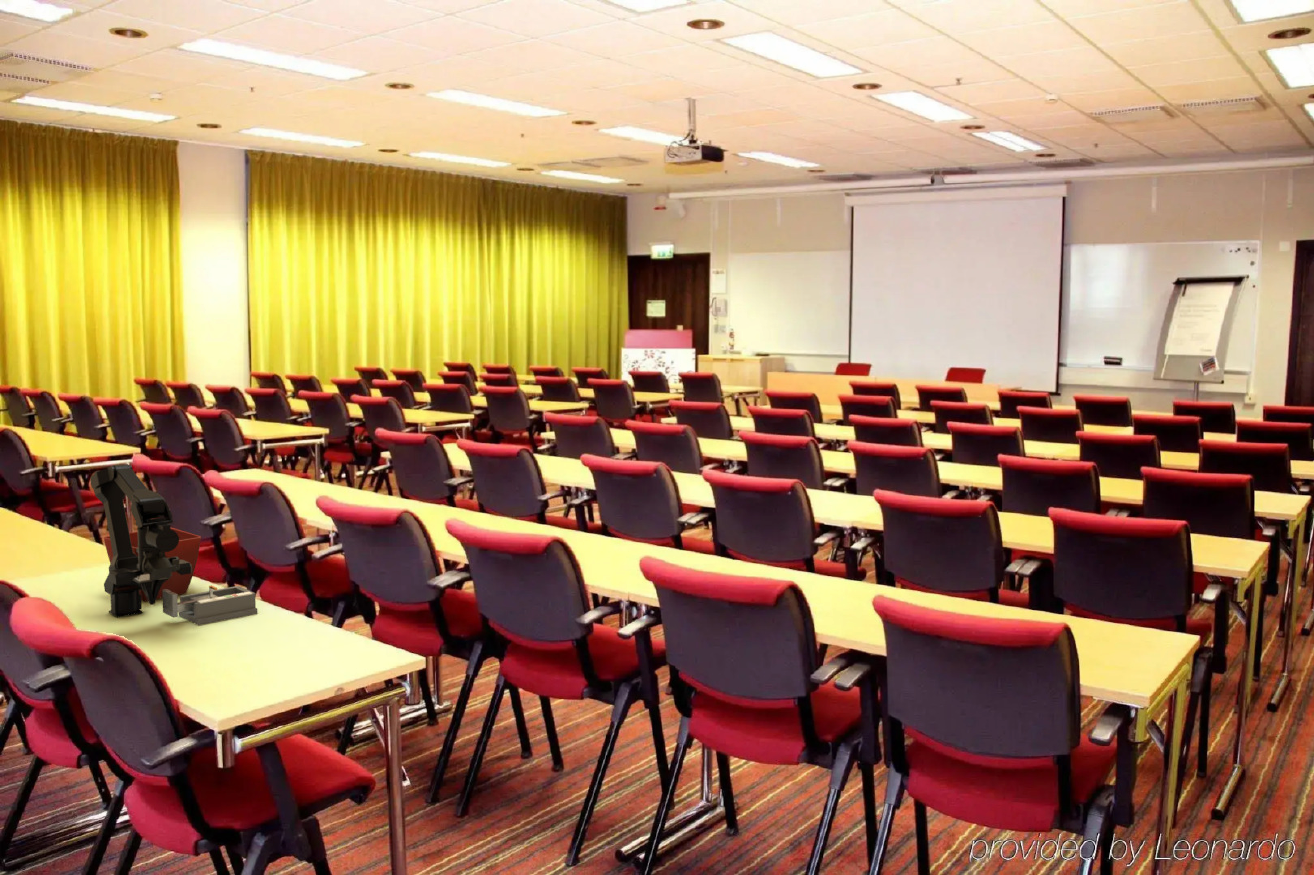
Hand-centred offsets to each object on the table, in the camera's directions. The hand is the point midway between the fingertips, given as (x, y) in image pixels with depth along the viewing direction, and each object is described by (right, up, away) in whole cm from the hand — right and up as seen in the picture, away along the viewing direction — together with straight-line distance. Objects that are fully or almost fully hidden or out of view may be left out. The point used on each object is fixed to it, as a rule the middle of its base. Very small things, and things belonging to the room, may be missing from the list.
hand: (152, 604), depth 267 cm
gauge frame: (+11, -5, +13) cm, 18 cm away
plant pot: (-14, -2, +31) cm, 34 cm away
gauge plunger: (+8, -4, +7) cm, 11 cm away
